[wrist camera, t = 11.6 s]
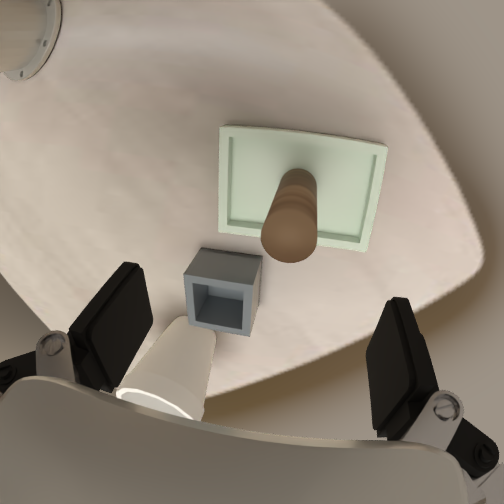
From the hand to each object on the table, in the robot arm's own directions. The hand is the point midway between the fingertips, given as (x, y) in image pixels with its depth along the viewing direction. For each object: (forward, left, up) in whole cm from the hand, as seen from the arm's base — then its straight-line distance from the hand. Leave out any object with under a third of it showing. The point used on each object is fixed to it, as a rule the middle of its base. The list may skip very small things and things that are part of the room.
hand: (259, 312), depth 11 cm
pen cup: (+11, -5, -17) cm, 21 cm away
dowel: (0, +1, -17) cm, 17 cm away
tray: (0, +1, -17) cm, 17 cm away
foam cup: (+21, -10, -18) cm, 30 cm away
